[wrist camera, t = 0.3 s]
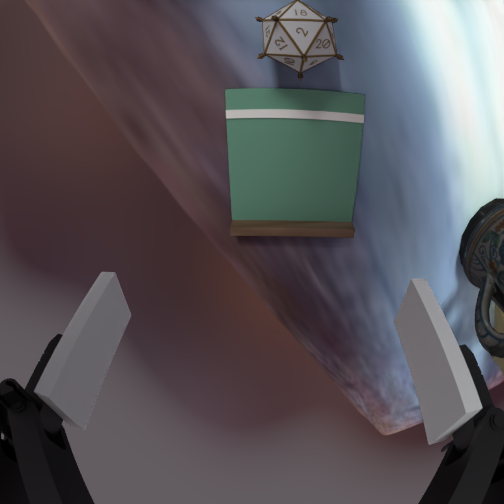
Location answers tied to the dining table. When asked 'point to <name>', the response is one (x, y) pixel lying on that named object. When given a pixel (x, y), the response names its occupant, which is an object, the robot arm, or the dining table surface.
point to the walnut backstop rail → (291, 228)
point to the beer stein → (486, 269)
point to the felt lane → (293, 153)
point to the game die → (298, 37)
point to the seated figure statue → (501, 326)
